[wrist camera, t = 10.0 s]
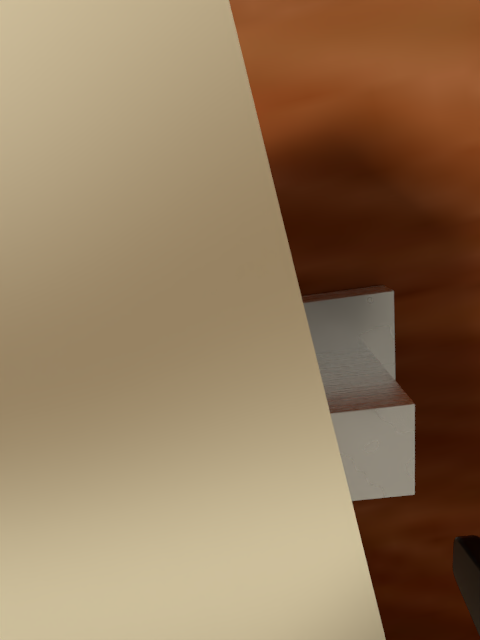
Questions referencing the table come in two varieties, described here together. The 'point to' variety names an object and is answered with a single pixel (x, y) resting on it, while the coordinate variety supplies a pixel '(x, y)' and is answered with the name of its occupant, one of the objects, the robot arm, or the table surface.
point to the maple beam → (156, 347)
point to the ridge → (364, 389)
